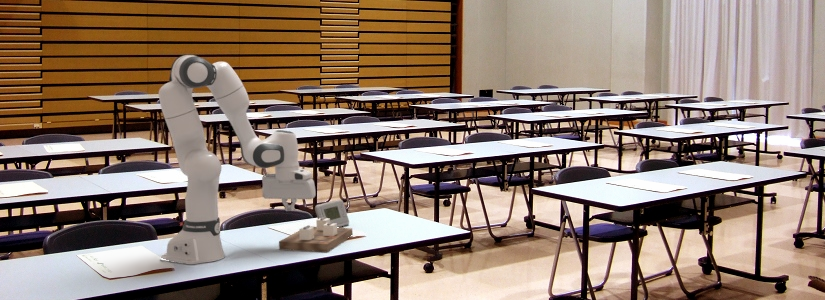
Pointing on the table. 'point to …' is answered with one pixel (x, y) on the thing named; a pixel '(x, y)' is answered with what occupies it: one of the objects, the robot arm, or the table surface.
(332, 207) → the digital clock
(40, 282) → the table surface
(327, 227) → the switch middle
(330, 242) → the switch housing
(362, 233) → the table surface
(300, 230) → the switch front
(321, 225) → the switch back
